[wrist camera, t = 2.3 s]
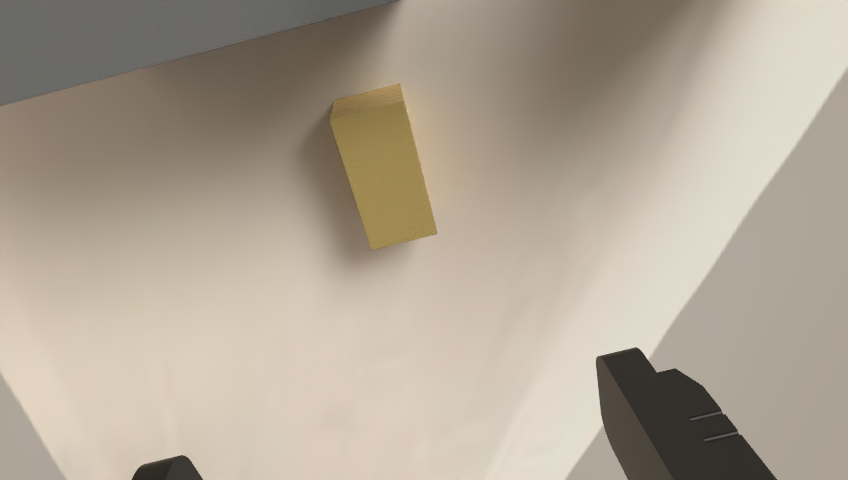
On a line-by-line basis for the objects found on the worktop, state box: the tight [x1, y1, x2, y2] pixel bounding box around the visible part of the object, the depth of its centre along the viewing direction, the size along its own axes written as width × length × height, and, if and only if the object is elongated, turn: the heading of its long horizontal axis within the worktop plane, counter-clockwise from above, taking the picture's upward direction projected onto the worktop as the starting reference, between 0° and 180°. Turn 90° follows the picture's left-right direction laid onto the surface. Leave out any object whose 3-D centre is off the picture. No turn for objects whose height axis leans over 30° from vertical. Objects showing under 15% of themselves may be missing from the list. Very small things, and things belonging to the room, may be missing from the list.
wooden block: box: [329, 83, 437, 250], centre depth 24 cm, size 3×6×4 cm, turn 13°
